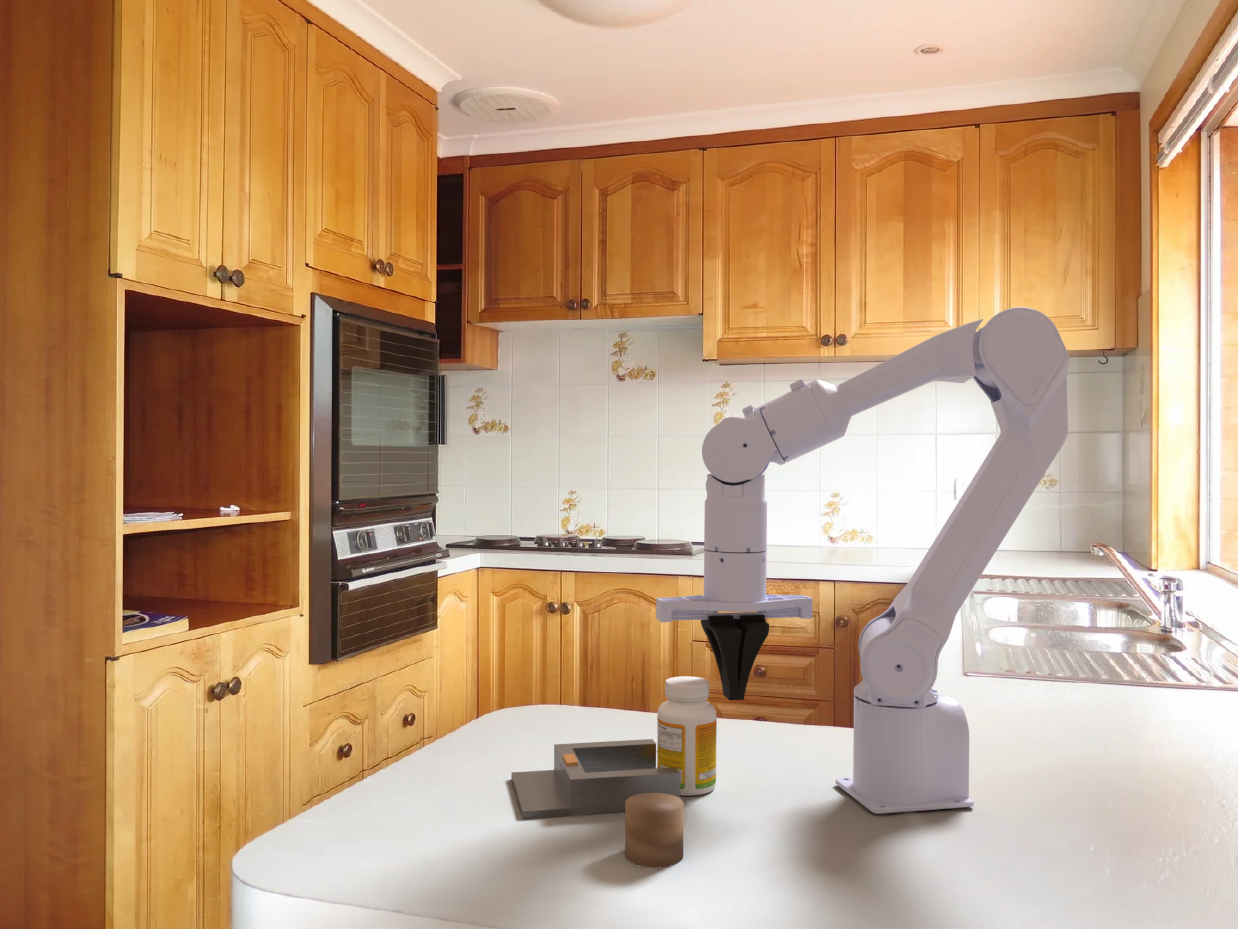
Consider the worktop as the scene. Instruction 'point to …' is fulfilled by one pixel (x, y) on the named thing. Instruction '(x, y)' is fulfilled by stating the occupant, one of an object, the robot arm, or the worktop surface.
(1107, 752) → the worktop surface
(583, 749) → the socket
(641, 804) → the knob
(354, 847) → the worktop surface
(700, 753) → the supplement bottle
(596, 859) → the worktop surface
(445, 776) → the worktop surface
